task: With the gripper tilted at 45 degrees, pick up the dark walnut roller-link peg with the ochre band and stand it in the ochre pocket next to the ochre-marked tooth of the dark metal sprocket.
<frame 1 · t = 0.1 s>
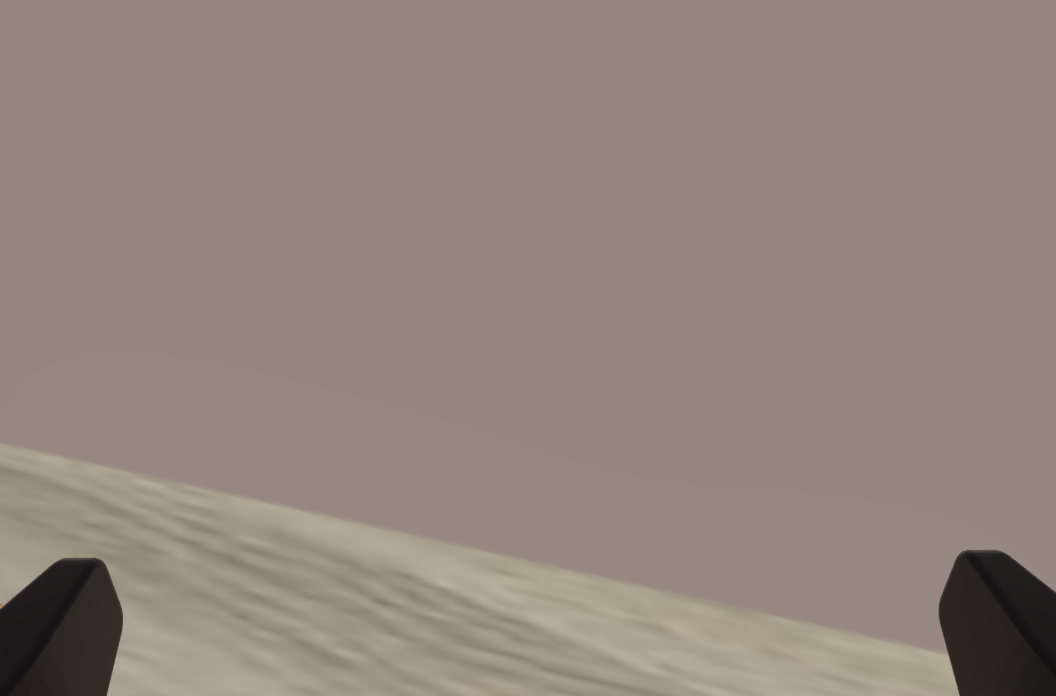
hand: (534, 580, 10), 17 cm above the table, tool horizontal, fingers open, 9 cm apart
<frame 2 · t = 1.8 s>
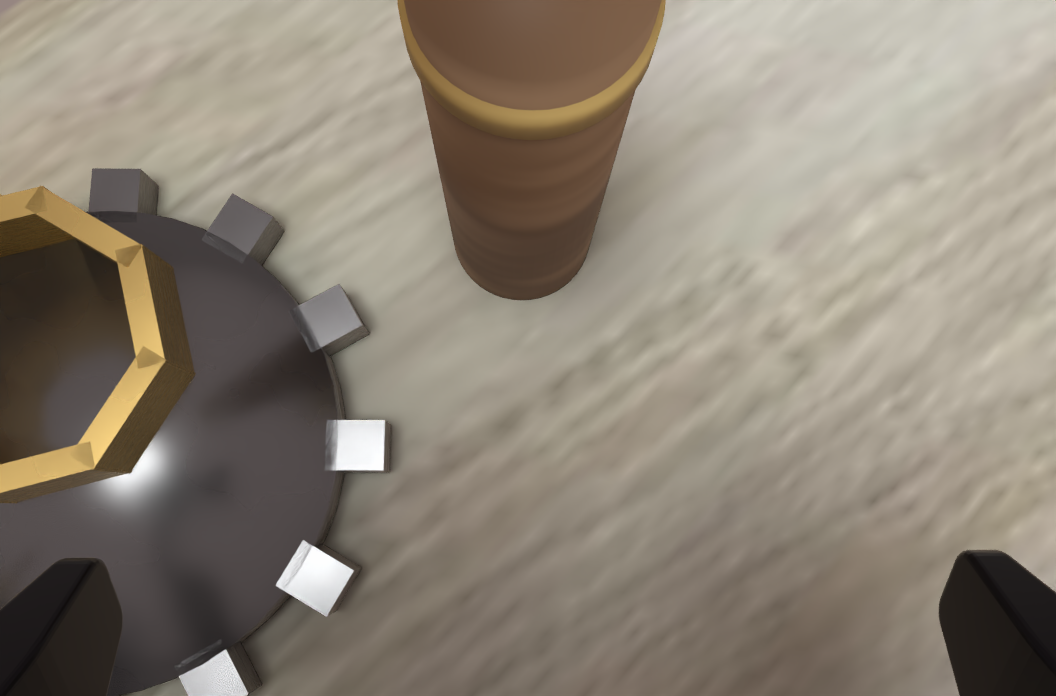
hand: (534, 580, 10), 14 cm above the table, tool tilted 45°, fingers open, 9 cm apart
link peg: (521, 233, 25), on the table
sprocket: (114, 447, 23), on the table
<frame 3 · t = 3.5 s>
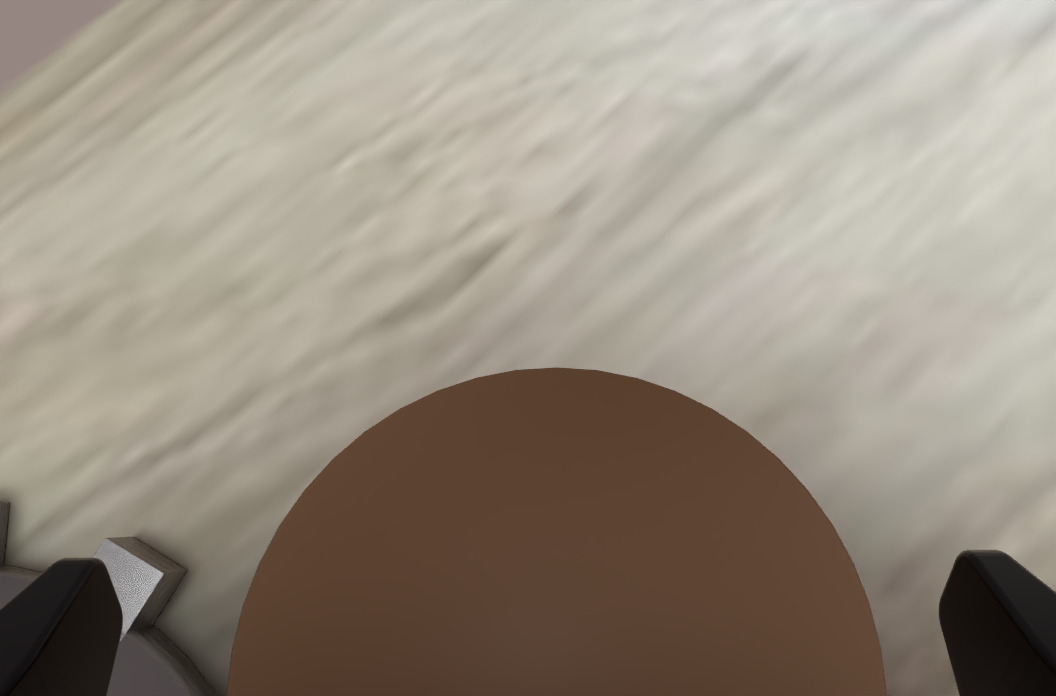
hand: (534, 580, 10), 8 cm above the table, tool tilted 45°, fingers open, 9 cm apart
link peg: (524, 570, 17), on the table
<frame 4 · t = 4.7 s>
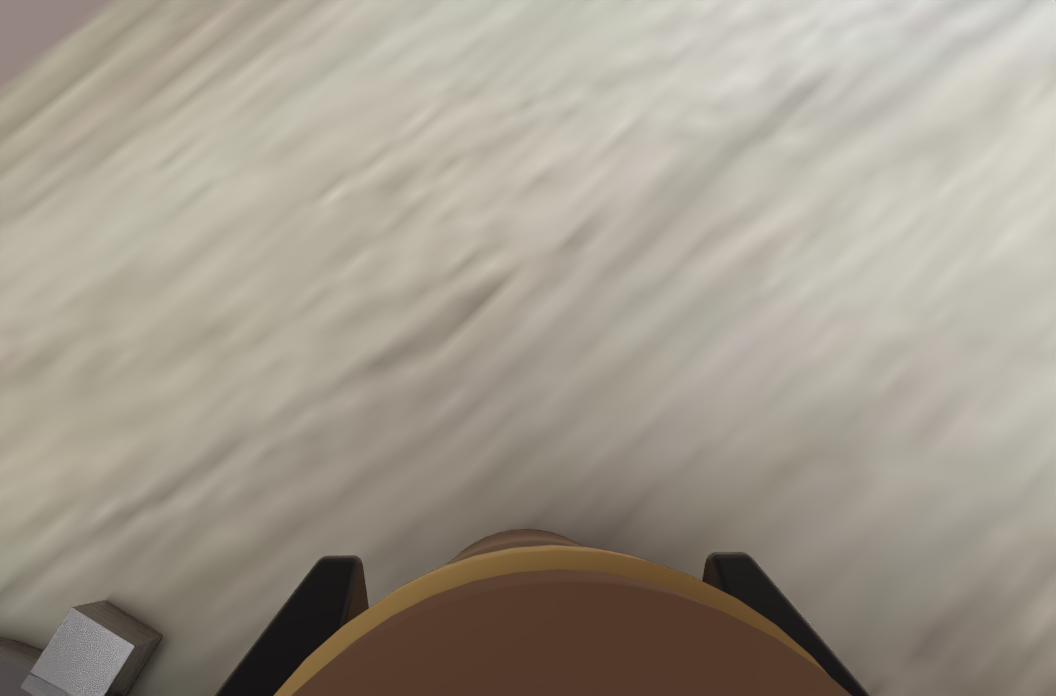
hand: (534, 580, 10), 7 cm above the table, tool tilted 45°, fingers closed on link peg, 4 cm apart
link peg: (525, 635, 16), on the table, touching gripper
when the fingers open (9 cm above the table, at t = 8.9 s): link peg stays where it is, resting on sprocket.
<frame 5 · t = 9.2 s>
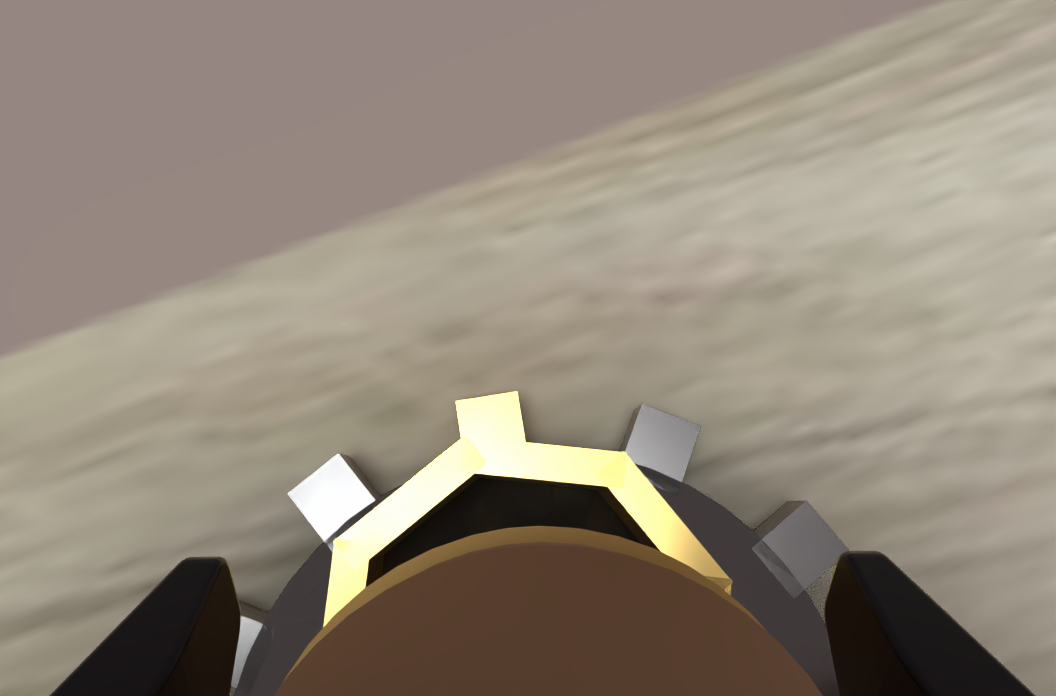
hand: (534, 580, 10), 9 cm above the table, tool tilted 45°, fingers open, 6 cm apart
link peg: (525, 628, 17), point 1 cm above the table, touching sprocket
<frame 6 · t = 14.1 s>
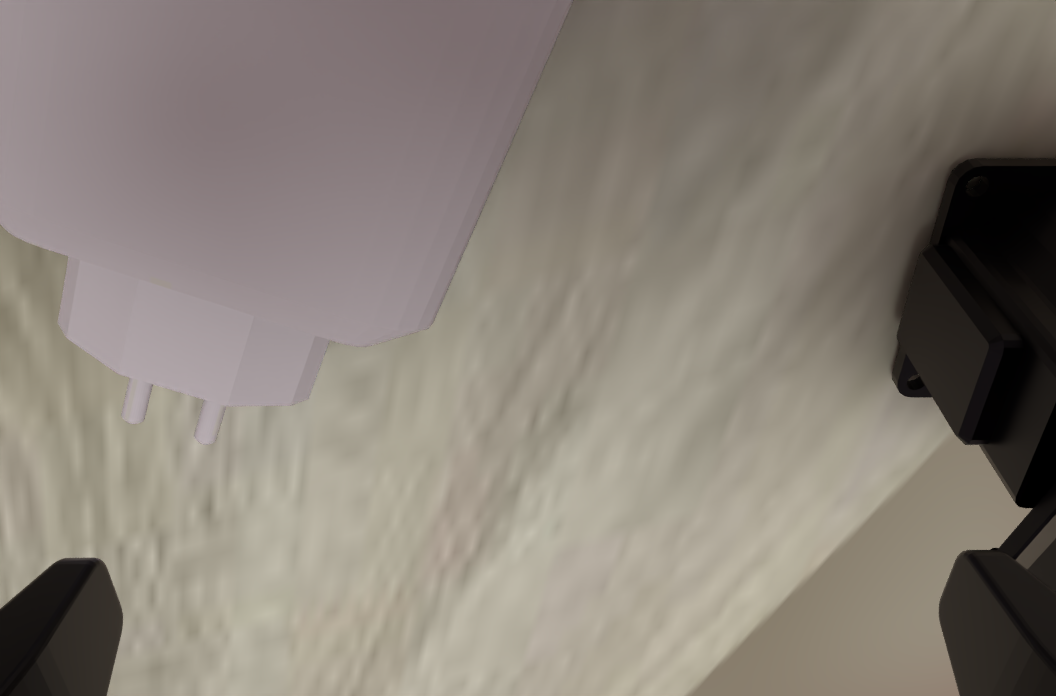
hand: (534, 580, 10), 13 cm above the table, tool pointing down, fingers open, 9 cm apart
charger: (267, 112, 21), on the table
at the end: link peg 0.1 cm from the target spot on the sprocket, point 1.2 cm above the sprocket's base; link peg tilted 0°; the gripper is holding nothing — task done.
